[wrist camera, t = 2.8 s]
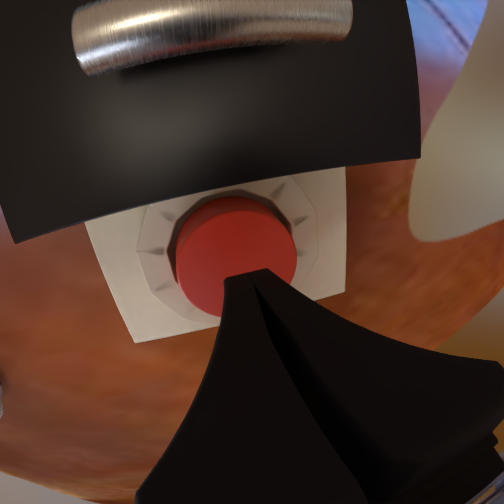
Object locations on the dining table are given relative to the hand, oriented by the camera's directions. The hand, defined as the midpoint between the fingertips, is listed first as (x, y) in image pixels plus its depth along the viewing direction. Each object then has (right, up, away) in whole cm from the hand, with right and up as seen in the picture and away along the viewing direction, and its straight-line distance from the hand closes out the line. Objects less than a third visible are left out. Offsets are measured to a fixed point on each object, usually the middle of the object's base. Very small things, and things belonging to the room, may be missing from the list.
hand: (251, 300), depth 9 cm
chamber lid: (-2, +9, -3) cm, 9 cm away
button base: (-1, +2, +6) cm, 6 cm away
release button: (-1, +2, +3) cm, 4 cm away
